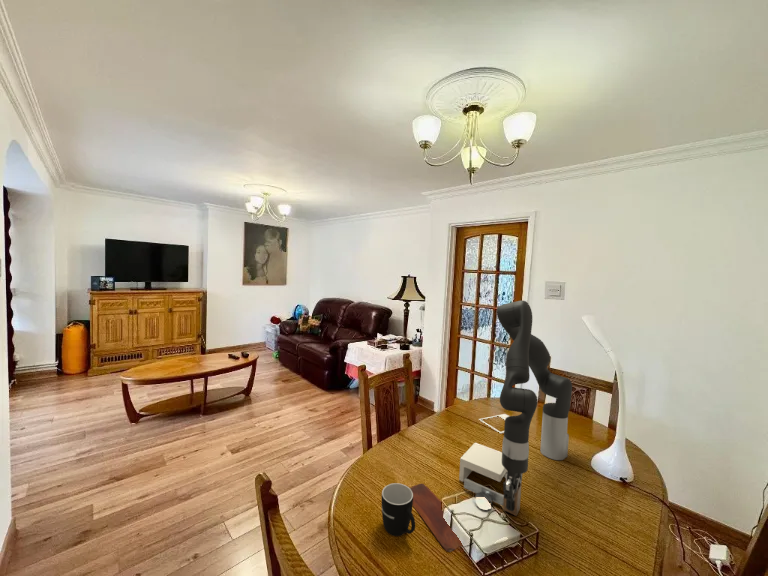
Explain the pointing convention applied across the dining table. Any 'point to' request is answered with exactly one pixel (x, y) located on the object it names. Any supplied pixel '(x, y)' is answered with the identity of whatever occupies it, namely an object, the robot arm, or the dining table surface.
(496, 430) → the photo frame
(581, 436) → the dining table surface
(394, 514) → the mug
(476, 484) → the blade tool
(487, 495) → the token
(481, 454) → the plinth shelf
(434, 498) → the wooden tablet
